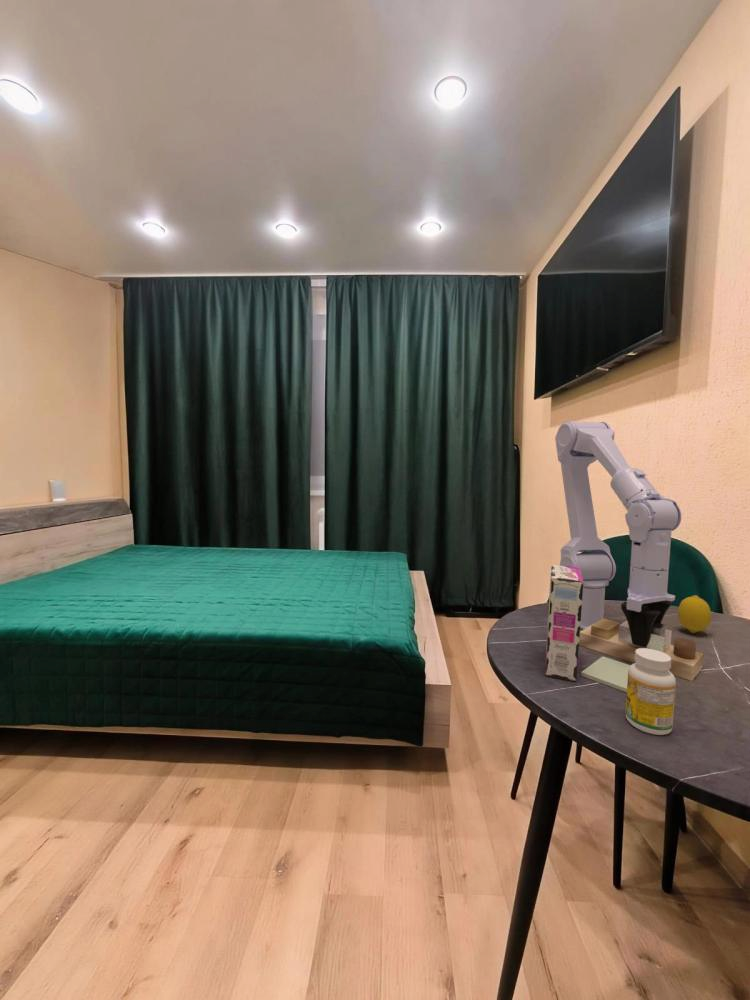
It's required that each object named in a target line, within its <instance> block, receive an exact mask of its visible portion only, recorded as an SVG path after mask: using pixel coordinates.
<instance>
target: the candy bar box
mask: <svg viewBox="0 0 750 1000" xmlns="http://www.w3.org/2000/svg"><path fill="white" fill-rule="evenodd" d="M550 568H551V569H550V578H549V579H550V580H549V581H550V583H549V595H548V609H547V610H548V611H547V625H546V627H547V628H546V629H547V630H546V644H545V645H546V646H545V672H544V673H545V676H548V677H552V678H556V679H562V680H566V681H571V682H572V681H573V682H577V680H578V667H579V665H578V664H579V651H580V645H579V640H580V631H581V628H580V626H581V611H582V596H583V583H584V582H583V579H582V576H581V572H580V568H578V567H570V566H560V564H559V565H558V564H552V565H551V567H550Z"/></svg>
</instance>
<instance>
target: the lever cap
mask: <svg viewBox="0 0 750 1000" xmlns="http://www.w3.org/2000/svg"><path fill="white" fill-rule="evenodd" d="M666 626H667V625H666V624H663V623H661V624H660V623H656V622H654V624H653V627H652V630H651V634H650V638H649V642H648V644H647V647H641V646H638V645H634V644H633V643H632V640H631V635H630V629H629V625H628V621H627V620H625V621H623V622H622V623H620V625H619V637H618V641H619V642H622V643H626V644H629V645H633V646H636V647H639V648H647V649H653V650H657V651H660V652H663V653H665V652H666V651H667V650H668V649H669V648H670V647H671V645H672V633H673V632H672V631H673V630H671V629H666Z"/></svg>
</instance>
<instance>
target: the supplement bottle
mask: <svg viewBox="0 0 750 1000" xmlns="http://www.w3.org/2000/svg"><path fill="white" fill-rule="evenodd" d="M635 662H636V663H634V662H633V663H632V664H630V665H631V666H630V667H629V669H628V682H627V692H626V696H625V697H626V699H625V701H626V702H625V718H626V720H627V721H628V723H630V724H631V726H633V727H635V728H636V729H638V730H639V731H641V732H644V733H647V734H650V735H655V736H656V735H657V736H665V735H668V734H670V733H671V732H672V731H673V727H674V726H673V725H674V713H675V700H676V699H675V698H676V687H677V686H676V685H677V680H676V676H675V675H673V674H672V673H671V672H670V671H669V670H670V668H671V658H670V656H668V655H667V654H665V653H663V652H660V651H657V650H653V649H647V648H639V649H637V650H636V651H635Z"/></svg>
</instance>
